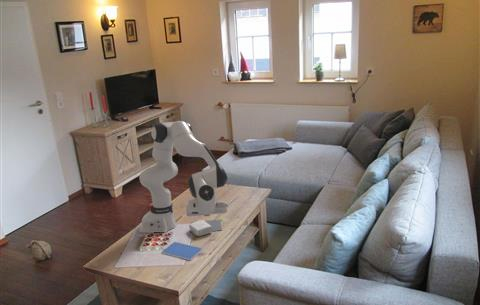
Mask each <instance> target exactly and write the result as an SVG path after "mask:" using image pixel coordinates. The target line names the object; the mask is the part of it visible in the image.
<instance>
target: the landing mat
mask: <svg viewBox="0 0 480 305" xmlns="http://www.w3.org/2000/svg"><path fill="white" fill-rule="evenodd" d="M204 221H205V222H207V223H208V224H209V225H211V227H212V228H213V230H212V232H218V231H219V232H221V231H223V228H222V223H221V222H222V221H221V219H219V218H218V219H211V220H210V219H209V220H204ZM194 222H195V221H191V222H190V224H191V223H194ZM190 234H194V233H193V232H192V231H191V230H190Z"/></svg>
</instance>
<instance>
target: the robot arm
mask: <svg viewBox="0 0 480 305" xmlns="http://www.w3.org/2000/svg"><path fill="white" fill-rule="evenodd" d="M150 131H151V133H150V134H151V138H152V140H153V145H152V146H153V147H152V154H151V155H152V156H151V157H152V158H153V159H154V161H155V162H156V164H155V165H153V166H150V167H148V168H146V169H144V170H142V171H141V172H140V174H139V177H138V178H139V182H140V184H141V185H142V187H145V188H147V190H148V191H149V192H150V195H151V201H152V202H151V203H149V211H148V212H146V214H144V215H143V217H142V219H141V222H140V223H139V225H138V232H139V233H141V234H155V233H154V232H165V233H167V232H168V231H169V230H173V229H174V228H175V227H176V226H177V222H176V219H175V216H174V205H173V202H172V193H171V191H170V190H169V188H167V187H165V186H164V183H166V182H168V181H170V180H172V179H173V178H175V177H176V176H177V175H178V172H179V168H178V166H177V164H176V163H175V162H174V161H173V152H174V149H175V150H176V153H177V154H179V155H181V156H183V157H191V158H194V157H195V158H202V159H204V161H205V163H206V164H207V165H208V167H209V168H208V169H204V170H202V171H198V172H195V173H192V174H190V175H189V177H188V180H187V182H188V189H189V192H190V194H191V196H192V198H194V199H190V200H188V202H187V205H186V211H185V212H186V217H196V216H197V217H198V216H203V217H210V216H211V215H218V214H226V213H228V206H229V204H228V202H225V201H217V194H216V191H215V189H218V188H222V187H224V186H225V185H226V183H227V182H228V174H227V172H226V171H225V169H224V168H223V166H222V165H221V164H220V163H219V162H218V161H217V159H216V158H215V156H214V154H213V153H212V151H211V150H210V149H209V147H208V146H207V145H206V144H205V143H204V142H201V141H198V140H197V138H195V136H194V134H193V128H192V126H191V124H190V123H189V122H186V121H183V120H177V121H169V122H167V121H166V122H158V123H154V124H153V125H152V127H151V130H150Z"/></svg>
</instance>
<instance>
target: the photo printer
mask: <svg viewBox="0 0 480 305" xmlns="http://www.w3.org/2000/svg"><path fill="white" fill-rule="evenodd" d="M205 221H206V220H197V221H193V222H194V223H191V222H190V224H189V225H188V226H189V230H190V232H191V231H192V232H193V233H192V234H194V235H195V236H197V237H201V236H203V235H208V234H210V233H212V232H213V231H212V230H213V228H212V227H211V225H209V224H208V223H207V222H205Z"/></svg>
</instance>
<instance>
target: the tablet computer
mask: <svg viewBox="0 0 480 305" xmlns="http://www.w3.org/2000/svg"><path fill="white" fill-rule="evenodd" d="M203 251H204V248H202V247H198V246H194V245H190V244H186V243H181V242H177V241H174V242H172V243H171V244H170V245H168V246H167V247H165V248H164V249H163V250H161V254H162V253H163V254H162V255H166V254H167V256H170V257H174V258H179V259H183V260H186V261H193V260H194V259H195V258H196V257H198V255H199V254H200V253H201V252H203Z"/></svg>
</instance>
